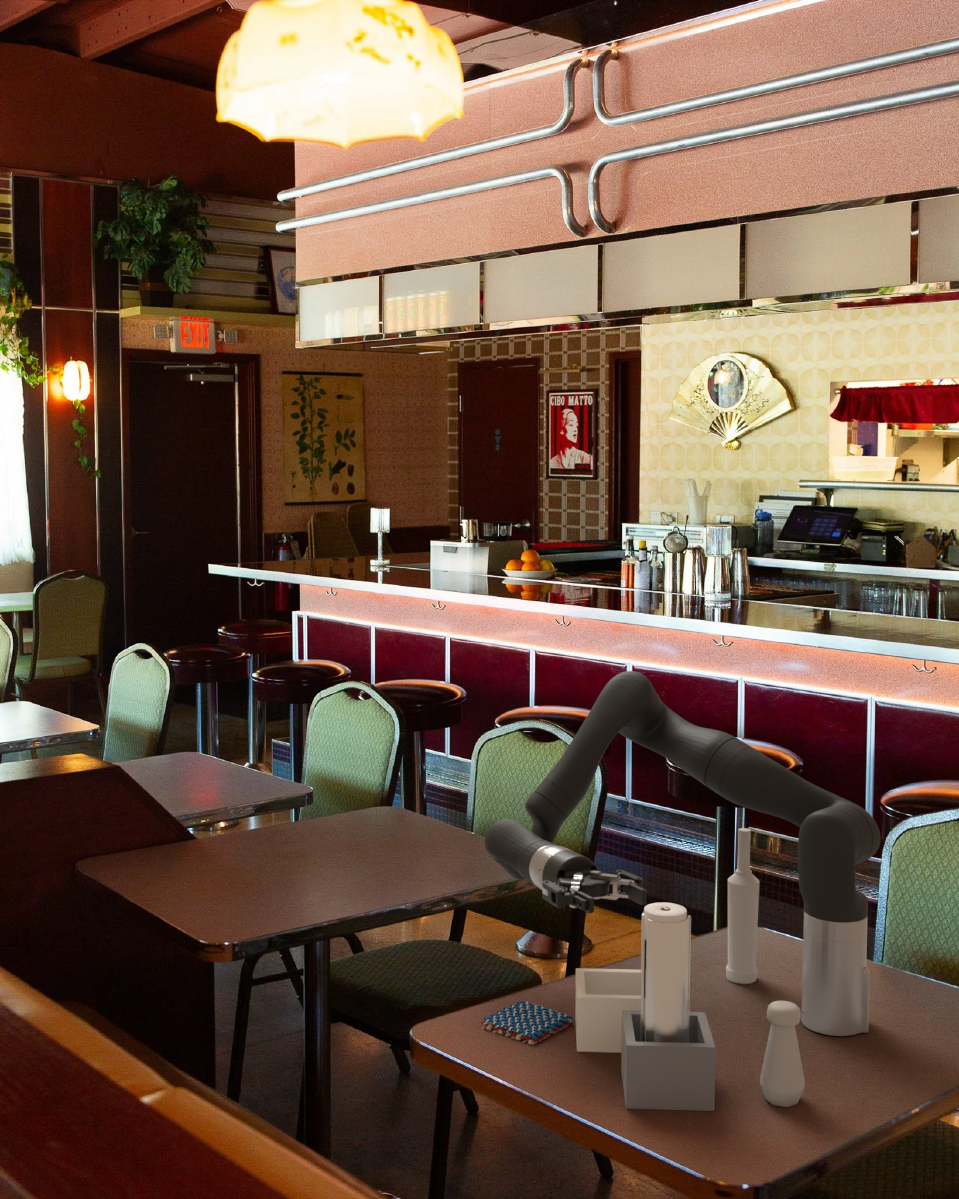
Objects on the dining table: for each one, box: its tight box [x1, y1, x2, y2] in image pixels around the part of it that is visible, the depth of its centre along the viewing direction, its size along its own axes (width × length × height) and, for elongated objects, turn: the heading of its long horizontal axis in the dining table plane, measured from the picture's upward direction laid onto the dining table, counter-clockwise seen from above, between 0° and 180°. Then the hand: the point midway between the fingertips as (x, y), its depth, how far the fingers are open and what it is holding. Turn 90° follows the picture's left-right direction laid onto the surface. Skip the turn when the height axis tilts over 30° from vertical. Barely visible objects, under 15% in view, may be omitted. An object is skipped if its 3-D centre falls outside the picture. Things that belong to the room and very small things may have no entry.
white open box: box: [574, 967, 641, 1054], centre depth 191 cm, size 11×11×8 cm
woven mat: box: [481, 1000, 574, 1046], centre depth 195 cm, size 10×11×2 cm
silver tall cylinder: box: [640, 901, 692, 1043], centre depth 173 cm, size 6×6×25 cm
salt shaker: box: [759, 1000, 806, 1108], centre depth 171 cm, size 6×6×13 cm
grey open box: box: [620, 1010, 716, 1112], centre depth 174 cm, size 11×11×8 cm
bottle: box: [725, 827, 760, 985], centre depth 213 cm, size 5×5×25 cm
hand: (618, 901), depth 183 cm, fingers open, 8 cm apart
